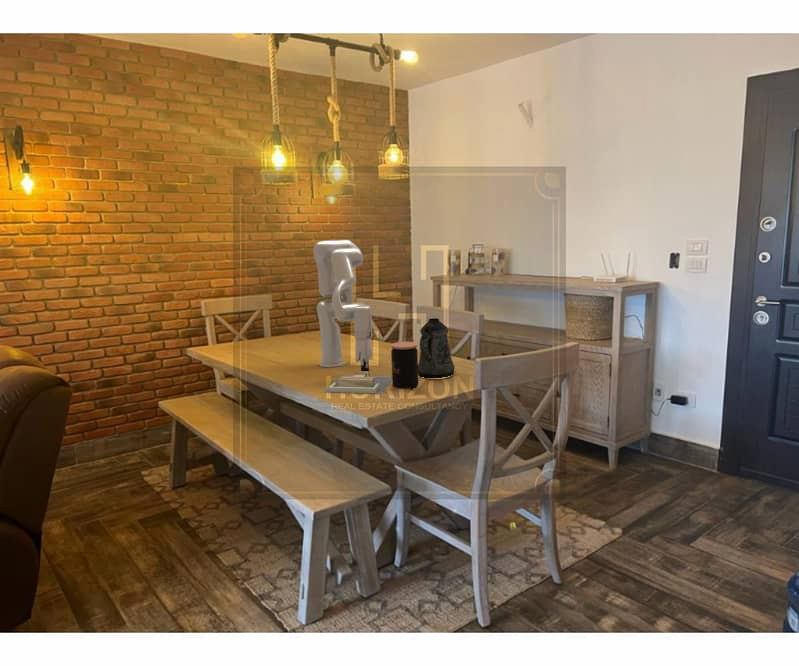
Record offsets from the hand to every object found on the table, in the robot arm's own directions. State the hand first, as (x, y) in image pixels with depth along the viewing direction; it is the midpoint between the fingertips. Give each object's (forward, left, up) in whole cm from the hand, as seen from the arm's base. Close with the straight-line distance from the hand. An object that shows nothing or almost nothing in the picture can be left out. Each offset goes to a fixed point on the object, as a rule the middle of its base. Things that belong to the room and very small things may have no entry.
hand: (365, 376), depth 249 cm
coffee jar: (+7, +19, -2) cm, 20 cm away
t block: (+9, 0, -1) cm, 9 cm away
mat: (+8, 0, -2) cm, 8 cm away
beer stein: (-12, +29, -2) cm, 31 cm away
